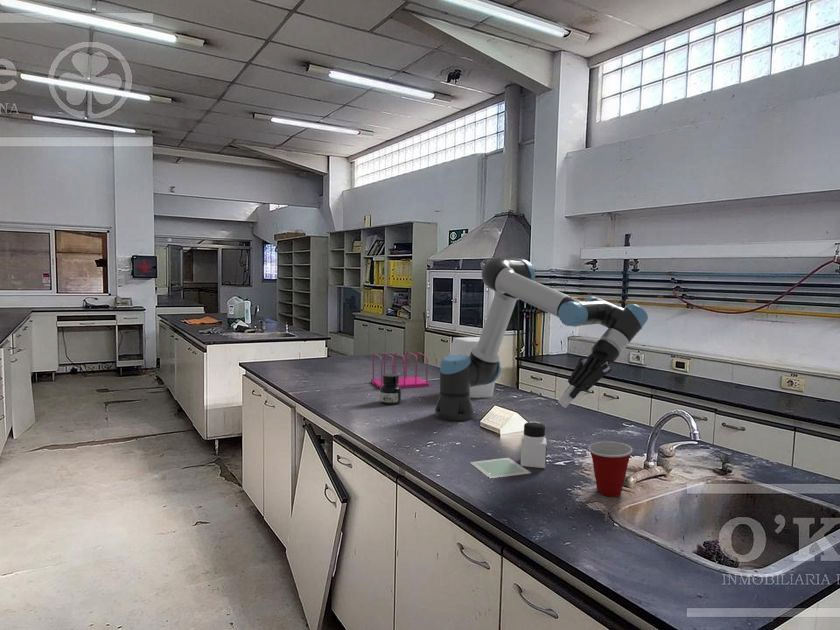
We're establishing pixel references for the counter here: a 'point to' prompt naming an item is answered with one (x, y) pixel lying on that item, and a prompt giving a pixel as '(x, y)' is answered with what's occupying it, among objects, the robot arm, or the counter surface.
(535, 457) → the medicine bottle
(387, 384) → the ink bottle
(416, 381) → the file sorter
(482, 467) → the pad
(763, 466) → the counter surface
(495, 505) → the counter surface
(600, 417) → the counter surface
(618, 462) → the plastic cup
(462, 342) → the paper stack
